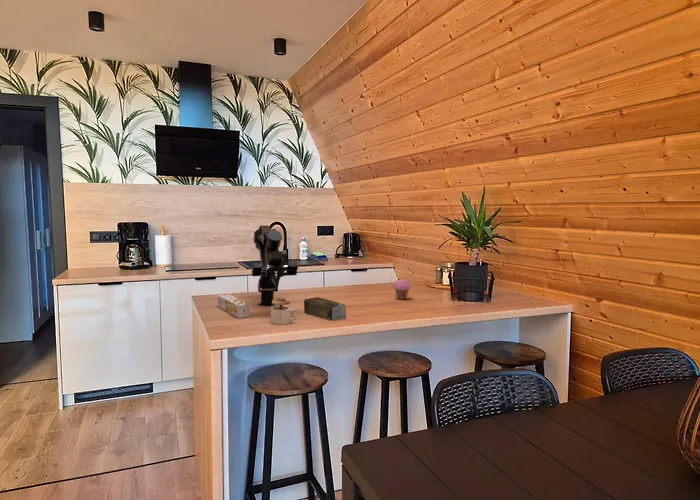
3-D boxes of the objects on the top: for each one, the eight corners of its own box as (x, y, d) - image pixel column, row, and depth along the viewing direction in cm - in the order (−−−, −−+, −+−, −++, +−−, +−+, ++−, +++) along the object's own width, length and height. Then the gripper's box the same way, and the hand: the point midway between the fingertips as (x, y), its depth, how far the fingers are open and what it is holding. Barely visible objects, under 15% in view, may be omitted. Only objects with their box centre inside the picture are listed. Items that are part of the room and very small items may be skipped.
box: (217, 306, 206) (217, 294, 206) (229, 305, 209) (228, 293, 209) (237, 319, 183) (237, 305, 183) (250, 318, 186) (250, 304, 186)
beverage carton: (331, 321, 182) (332, 305, 181) (302, 313, 196) (302, 298, 195) (346, 318, 187) (346, 302, 187) (317, 310, 201) (317, 295, 201)
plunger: (277, 312, 183) (277, 296, 183) (293, 314, 181) (293, 297, 180) (268, 316, 177) (268, 299, 176) (284, 318, 174) (285, 300, 174)
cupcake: (411, 300, 225) (411, 280, 224) (393, 300, 225) (394, 280, 224) (408, 297, 234) (409, 278, 233) (392, 297, 234) (392, 277, 233)
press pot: (268, 324, 176) (268, 309, 175) (274, 319, 183) (274, 305, 183) (293, 325, 174) (293, 311, 174) (298, 320, 182) (298, 306, 181)
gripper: (252, 244, 186) (256, 275, 176) (297, 243, 192) (303, 273, 183) (250, 260, 194) (253, 291, 185) (293, 259, 200) (298, 289, 191)
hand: (277, 285), depth 185 cm, fingers closed
